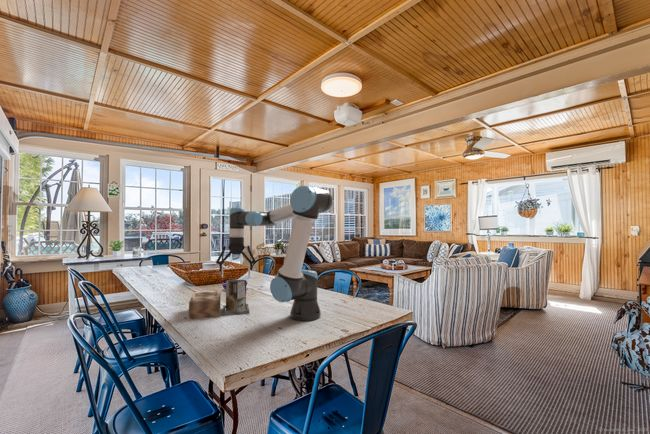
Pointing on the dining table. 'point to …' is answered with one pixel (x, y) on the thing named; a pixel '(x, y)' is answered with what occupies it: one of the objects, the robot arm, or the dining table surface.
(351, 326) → the dining table surface
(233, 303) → the coffee box
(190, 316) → the walnut caddy
